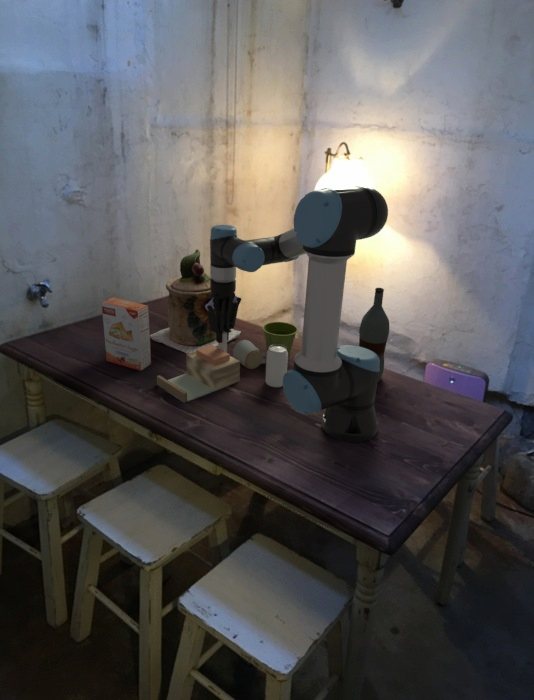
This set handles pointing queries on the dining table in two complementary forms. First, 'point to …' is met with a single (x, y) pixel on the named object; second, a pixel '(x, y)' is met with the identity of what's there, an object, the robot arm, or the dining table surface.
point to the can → (276, 365)
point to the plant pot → (280, 334)
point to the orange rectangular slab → (213, 355)
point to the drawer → (184, 387)
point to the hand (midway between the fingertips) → (222, 350)
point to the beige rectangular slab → (213, 371)
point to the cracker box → (127, 333)
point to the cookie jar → (189, 309)
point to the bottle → (375, 329)
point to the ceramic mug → (248, 354)
